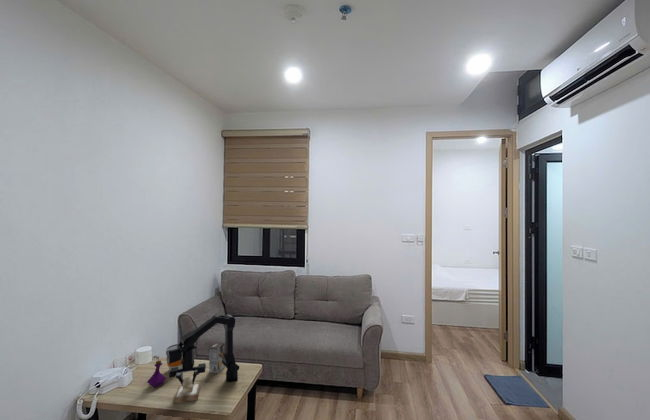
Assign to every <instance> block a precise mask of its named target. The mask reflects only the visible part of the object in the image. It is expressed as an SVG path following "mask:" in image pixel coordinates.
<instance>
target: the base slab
mask: <svg viewBox="0 0 650 420" xmlns="http://www.w3.org/2000/svg"><path fill="white" fill-rule="evenodd" d="M201 390H202V389H201V382H197V383H194V384H193V391H192V392H187V393H183V386H182V385H179V386H177V389H176V392H175V395H174V398H173V402H174V403H173V404H174V405H175V404H176V405H177V404H182V403H187V402H188V403H189V402H194V400H195V401H198V400H199V396H200V393H201Z"/></svg>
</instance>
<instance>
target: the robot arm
mask: <svg viewBox="0 0 650 420" xmlns="http://www.w3.org/2000/svg"><path fill="white" fill-rule="evenodd" d="M217 324H220V325H223V328H224V331H225V332H224V337H225V338H224V340H225V341H224V343H225V355H224V356H222V363H223V365H224V366H225V367H224V368H226V372H225V379H226V382H227V383H229V382H236V381H238V380H239V374H238V371H239V369H240V365H239V364H237V362H236V357H235V355H234V328H235V325H236V318H235V317H234V316H232V315H231V314H228V313H227V314H226V315H223V314H222V315H221V314H218V315H217V314H214V315H212V316H211V318H209V319H208V320H206V321H205V322H204V323H203V324H200V326H198V327H197V328H196V329H194V330H191V331H189V332H186V333H185V334H184V335H182V337H181V339H180V341H179V343H177V344H178V346H177V349H173V350H169V351H168V354H167V355H166V358H167V359H166V363H167V362H168V364H170V363H173V362H177V361H180V360H181V358H182V360H181V364H182V369H179V368H178V367H175V368H171V370H170V372H169V371H168V378H175V379H178V381H179V382H180V385H181V386H183V379H184V373H188V372H193V373H192V377H193V384H195V380H196V378H197V376H198V375H200V374H203V373H205V372H206V369H207V363H205V362H204V363H198V365H197V366H195V358H194V350H195V349H197V348H198V347H197V345H195V343H196V342H197V341H199V340H198V339H199V338H200V337H202V335H204V334H205V333H206V332H208V331H209V330H210V329H212V328H213V327H214V326H215V325H217ZM183 345H184V346H183Z"/></svg>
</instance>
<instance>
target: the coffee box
mask: <svg viewBox="0 0 650 420" xmlns="http://www.w3.org/2000/svg"><path fill="white" fill-rule="evenodd" d="M208 353H209V354H208V359H209V360H208V363H209V364H208V365H209V367H208V368H209V373H212V374H213V373H215V374H219V373H220V372H221V371H222V370H223V369H224V368H226V367H225V366H224V365H223V363H222V356H224V355H225V342H218V341H217V342H215V343H214V344H213V345H211V346H209V348H208Z"/></svg>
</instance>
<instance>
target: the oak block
mask: <svg viewBox="0 0 650 420" xmlns="http://www.w3.org/2000/svg"><path fill="white" fill-rule="evenodd" d="M192 391H193V376H187V377H183V393H187V392H192Z"/></svg>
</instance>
